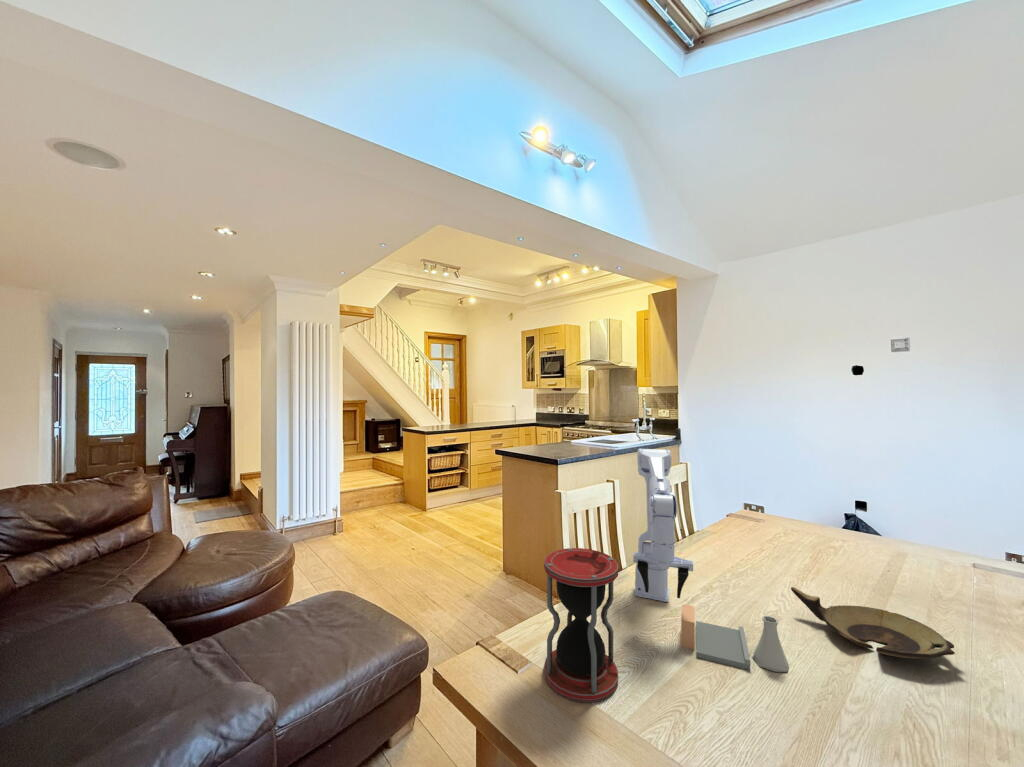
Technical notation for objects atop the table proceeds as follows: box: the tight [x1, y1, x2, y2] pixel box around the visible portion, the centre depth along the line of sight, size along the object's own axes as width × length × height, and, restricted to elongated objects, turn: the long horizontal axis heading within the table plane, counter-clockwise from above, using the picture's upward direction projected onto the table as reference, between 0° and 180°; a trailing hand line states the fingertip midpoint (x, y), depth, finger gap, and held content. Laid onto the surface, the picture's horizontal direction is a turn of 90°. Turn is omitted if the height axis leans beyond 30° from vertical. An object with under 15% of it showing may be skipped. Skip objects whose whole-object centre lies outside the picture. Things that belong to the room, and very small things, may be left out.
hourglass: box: [543, 547, 619, 703], centre depth 91 cm, size 16×16×25 cm
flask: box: [752, 615, 790, 673], centre depth 95 cm, size 7×7×10 cm
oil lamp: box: [790, 586, 956, 660], centre depth 104 cm, size 22×30×8 cm
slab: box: [680, 603, 696, 650], centre depth 104 cm, size 3×8×6 cm, turn 156°
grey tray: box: [695, 620, 751, 671], centre depth 101 cm, size 11×14×2 cm
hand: (662, 593), depth 107 cm, fingers open, 7 cm apart
